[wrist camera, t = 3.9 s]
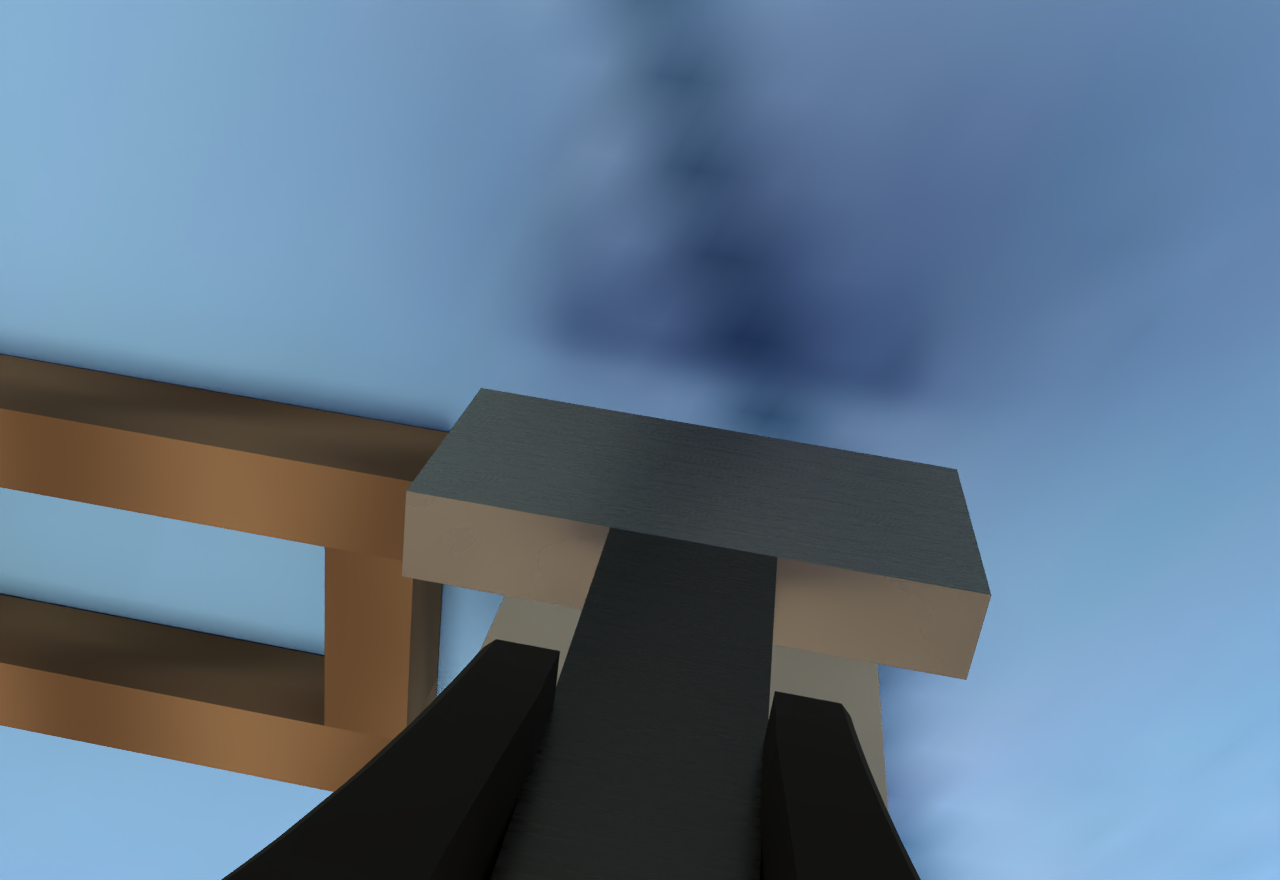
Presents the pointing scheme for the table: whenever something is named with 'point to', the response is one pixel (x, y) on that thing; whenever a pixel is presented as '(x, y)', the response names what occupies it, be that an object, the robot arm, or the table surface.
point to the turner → (683, 609)
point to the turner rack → (238, 500)
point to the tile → (788, 670)
